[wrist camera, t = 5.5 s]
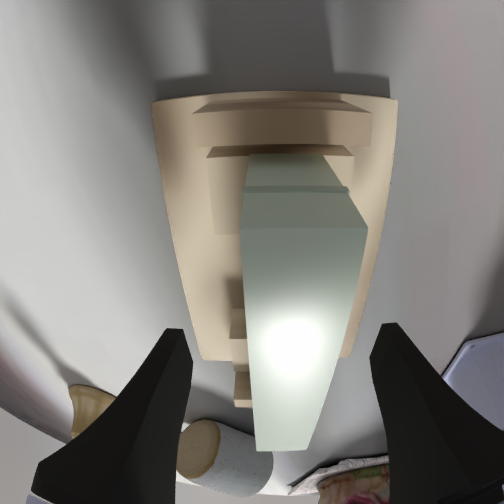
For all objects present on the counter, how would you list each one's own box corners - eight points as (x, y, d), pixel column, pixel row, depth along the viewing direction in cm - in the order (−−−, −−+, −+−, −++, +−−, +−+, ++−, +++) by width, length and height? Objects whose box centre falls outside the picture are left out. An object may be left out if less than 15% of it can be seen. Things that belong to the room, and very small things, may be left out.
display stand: (390, 98, 11) (445, 116, 7) (347, 347, 20) (359, 402, 16) (156, 100, 11) (109, 118, 7) (203, 350, 20) (194, 406, 16)
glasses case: (323, 152, 9) (371, 225, 5) (301, 370, 16) (307, 450, 12) (248, 152, 10) (236, 226, 5) (257, 371, 16) (255, 451, 12)
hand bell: (87, 412, 30) (58, 518, 17) (57, 377, 25) (14, 501, 12) (145, 425, 30) (122, 542, 16) (121, 392, 25) (85, 537, 12)
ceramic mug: (218, 407, 25) (210, 482, 19) (275, 431, 28) (274, 495, 22) (159, 426, 30) (147, 483, 23) (212, 447, 33) (206, 499, 27)
